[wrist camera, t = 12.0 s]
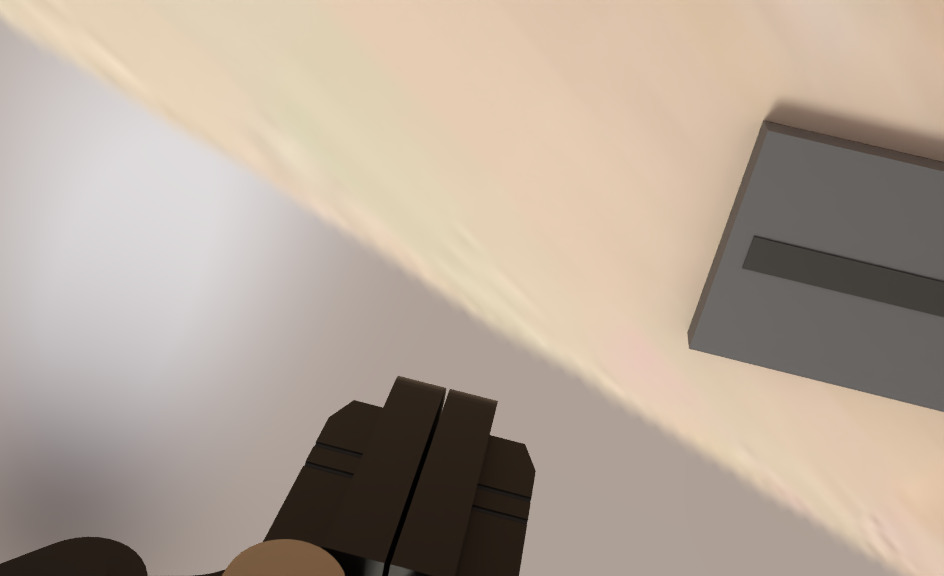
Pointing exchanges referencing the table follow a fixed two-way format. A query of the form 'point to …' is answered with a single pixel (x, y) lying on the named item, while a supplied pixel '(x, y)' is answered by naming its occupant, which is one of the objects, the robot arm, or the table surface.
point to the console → (832, 267)
